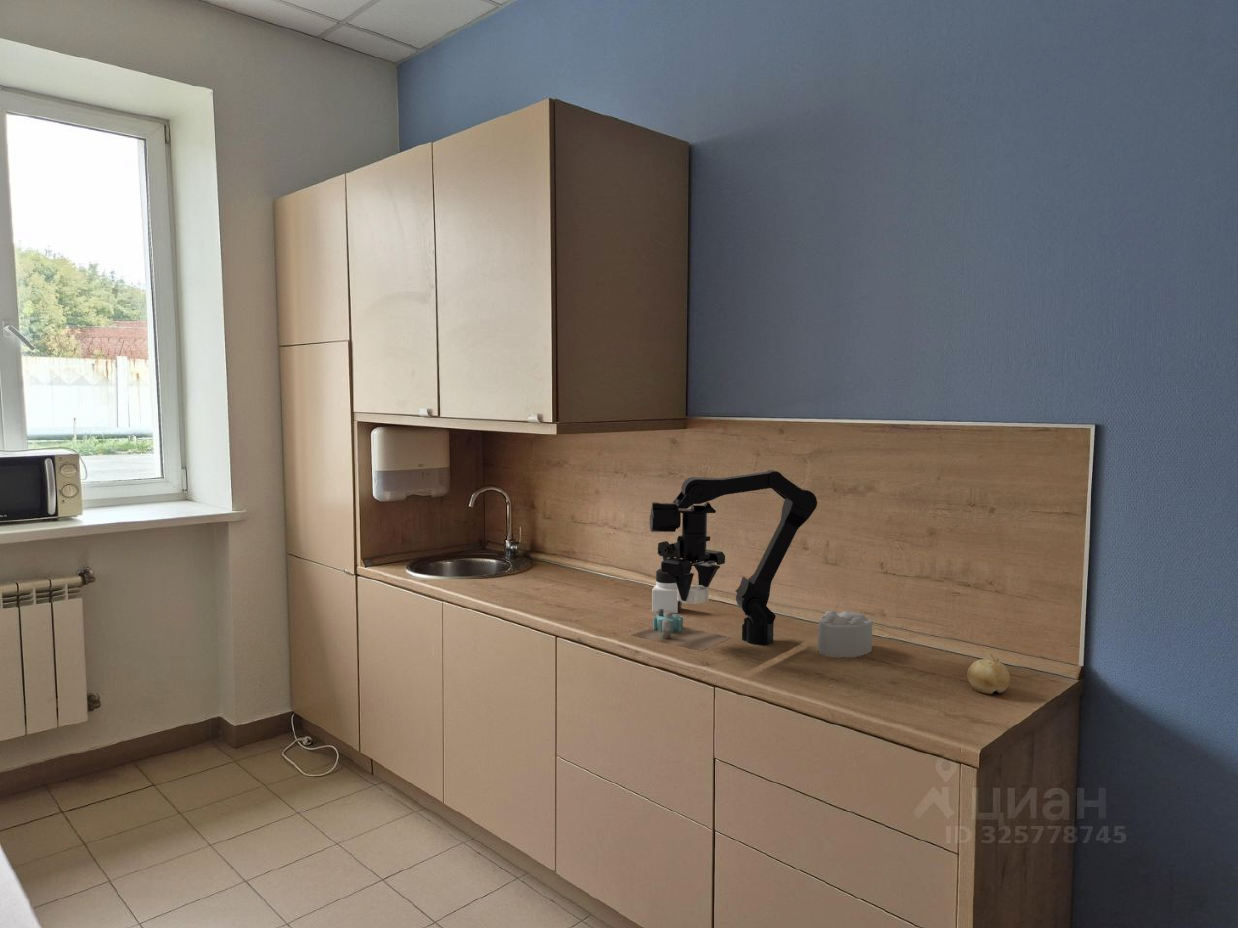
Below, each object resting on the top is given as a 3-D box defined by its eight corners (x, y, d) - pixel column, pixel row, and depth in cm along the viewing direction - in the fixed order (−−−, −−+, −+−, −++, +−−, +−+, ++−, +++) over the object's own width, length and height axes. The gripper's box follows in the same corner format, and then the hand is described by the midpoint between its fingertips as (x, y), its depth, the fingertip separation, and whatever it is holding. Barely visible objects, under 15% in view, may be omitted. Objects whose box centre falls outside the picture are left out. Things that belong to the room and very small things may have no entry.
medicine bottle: (678, 616, 227) (678, 572, 226) (651, 615, 228) (652, 571, 227) (681, 610, 234) (682, 567, 233) (655, 608, 235) (656, 565, 234)
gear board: (731, 641, 204) (732, 620, 204) (701, 654, 193) (701, 633, 193) (662, 627, 216) (663, 607, 216) (630, 639, 205) (630, 618, 205)
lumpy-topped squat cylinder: (877, 650, 198) (879, 614, 197) (843, 661, 190) (844, 623, 189) (840, 640, 206) (841, 605, 205) (806, 650, 198) (807, 613, 197)
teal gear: (688, 628, 212) (688, 610, 211) (672, 634, 206) (672, 615, 205) (664, 623, 216) (664, 605, 216) (647, 629, 210) (648, 611, 210)
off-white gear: (714, 600, 199) (714, 587, 199) (697, 605, 194) (697, 592, 194) (688, 595, 204) (689, 582, 204) (671, 600, 198) (671, 587, 198)
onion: (1010, 700, 166) (1011, 664, 165) (966, 694, 169) (967, 659, 169) (1008, 687, 173) (1010, 653, 173) (966, 682, 176) (968, 648, 176)
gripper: (688, 524, 210) (687, 586, 211) (642, 532, 195) (641, 599, 197) (727, 528, 203) (725, 593, 204) (682, 538, 188) (681, 607, 190)
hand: (693, 598), depth 199 cm, fingers closed on off-white gear, 7 cm apart
